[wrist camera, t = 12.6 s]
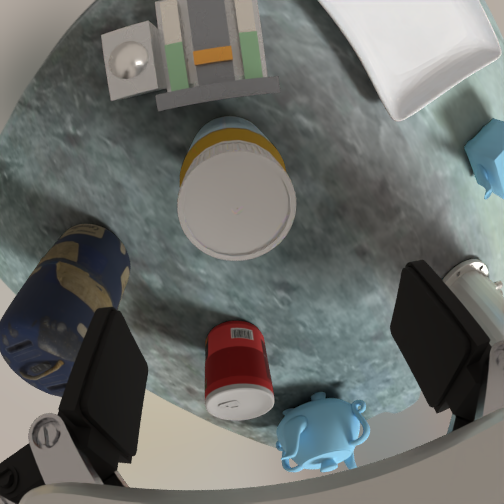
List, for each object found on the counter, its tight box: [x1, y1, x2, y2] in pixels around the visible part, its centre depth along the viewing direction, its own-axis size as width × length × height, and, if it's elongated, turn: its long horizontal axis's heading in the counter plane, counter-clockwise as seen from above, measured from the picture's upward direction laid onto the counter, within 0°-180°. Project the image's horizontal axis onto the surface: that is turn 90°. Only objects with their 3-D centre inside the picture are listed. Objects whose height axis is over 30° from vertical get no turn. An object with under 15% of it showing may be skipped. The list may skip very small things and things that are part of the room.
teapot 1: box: [276, 392, 370, 472], centre depth 48 cm, size 16×20×14 cm
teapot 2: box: [464, 118, 504, 199], centre depth 27 cm, size 12×6×8 cm, turn 133°
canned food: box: [205, 321, 274, 420], centre depth 36 cm, size 8×8×11 cm
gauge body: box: [101, 0, 267, 101], centre depth 20 cm, size 13×11×5 cm
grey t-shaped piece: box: [155, 0, 280, 111], centre depth 19 cm, size 8×11×7 cm
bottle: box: [177, 116, 296, 261], centre depth 22 cm, size 7×7×15 cm
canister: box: [0, 224, 130, 397], centre depth 25 cm, size 10×10×18 cm
